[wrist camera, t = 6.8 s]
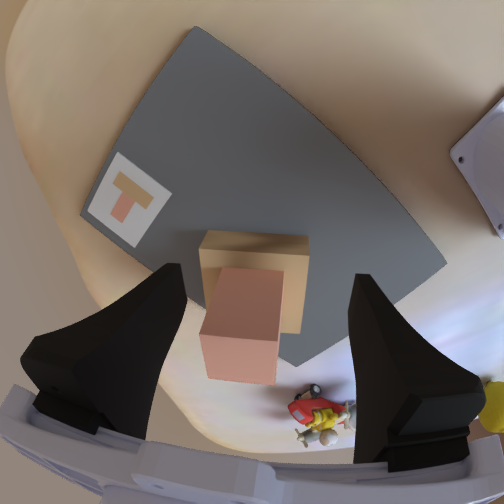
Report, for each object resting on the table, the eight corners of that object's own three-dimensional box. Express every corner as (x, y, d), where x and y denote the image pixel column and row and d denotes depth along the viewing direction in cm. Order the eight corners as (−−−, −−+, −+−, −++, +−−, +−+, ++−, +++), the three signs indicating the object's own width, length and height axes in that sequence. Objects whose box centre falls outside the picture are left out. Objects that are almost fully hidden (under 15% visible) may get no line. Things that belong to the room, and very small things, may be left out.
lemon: (499, 387, 30) (514, 433, 24) (467, 398, 32) (479, 447, 25) (510, 364, 28) (529, 414, 21) (476, 376, 29) (492, 429, 23)
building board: (443, 257, 22) (448, 264, 21) (296, 360, 30) (296, 368, 29) (198, 27, 16) (193, 25, 15) (84, 210, 24) (78, 216, 23)
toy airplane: (287, 381, 32) (283, 432, 27) (371, 373, 30) (377, 425, 25) (298, 418, 37) (295, 462, 32) (367, 412, 35) (370, 456, 29)
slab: (308, 235, 22) (309, 255, 20) (300, 311, 25) (300, 333, 23) (208, 230, 22) (198, 248, 20) (215, 304, 26) (208, 326, 24)
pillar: (284, 270, 20) (277, 341, 15) (281, 316, 23) (274, 385, 18) (222, 267, 21) (199, 334, 16) (226, 311, 23) (208, 378, 18)
